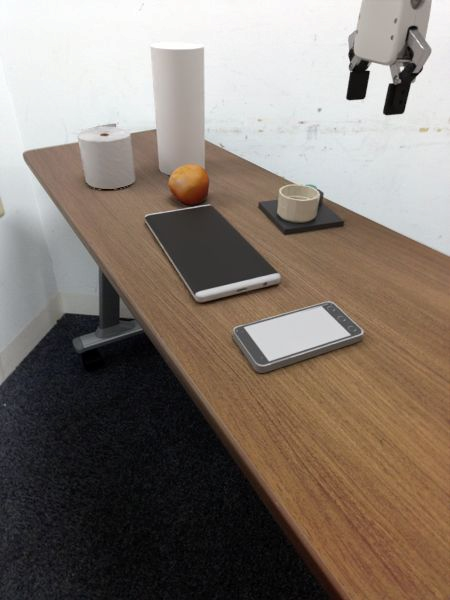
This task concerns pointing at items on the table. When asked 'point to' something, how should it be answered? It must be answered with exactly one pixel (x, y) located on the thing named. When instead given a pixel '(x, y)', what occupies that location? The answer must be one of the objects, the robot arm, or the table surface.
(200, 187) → the fruit
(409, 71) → the robot arm
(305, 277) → the table surface
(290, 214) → the bowl
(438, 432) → the table surface
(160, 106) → the tall pillar cylinder
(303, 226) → the scale
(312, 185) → the button
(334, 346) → the smartphone
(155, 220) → the tablet
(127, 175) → the toilet tissue
